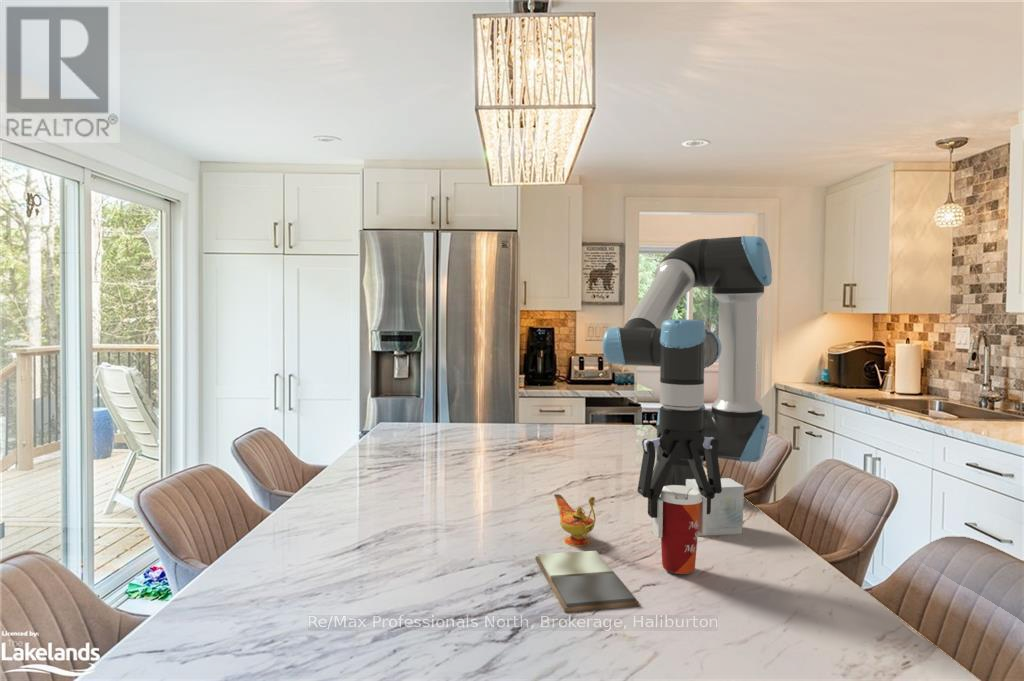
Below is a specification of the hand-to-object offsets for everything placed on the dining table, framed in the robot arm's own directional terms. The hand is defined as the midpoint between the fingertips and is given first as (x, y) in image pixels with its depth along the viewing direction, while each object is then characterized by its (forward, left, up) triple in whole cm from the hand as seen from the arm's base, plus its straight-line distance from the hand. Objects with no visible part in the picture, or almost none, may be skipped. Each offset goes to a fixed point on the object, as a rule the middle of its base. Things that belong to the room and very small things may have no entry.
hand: (678, 533), depth 106 cm
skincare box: (-17, -18, -7) cm, 25 cm away
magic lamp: (+14, -18, -7) cm, 24 cm away
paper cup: (0, 0, -6) cm, 6 cm away
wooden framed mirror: (+18, +1, -7) cm, 19 cm away
